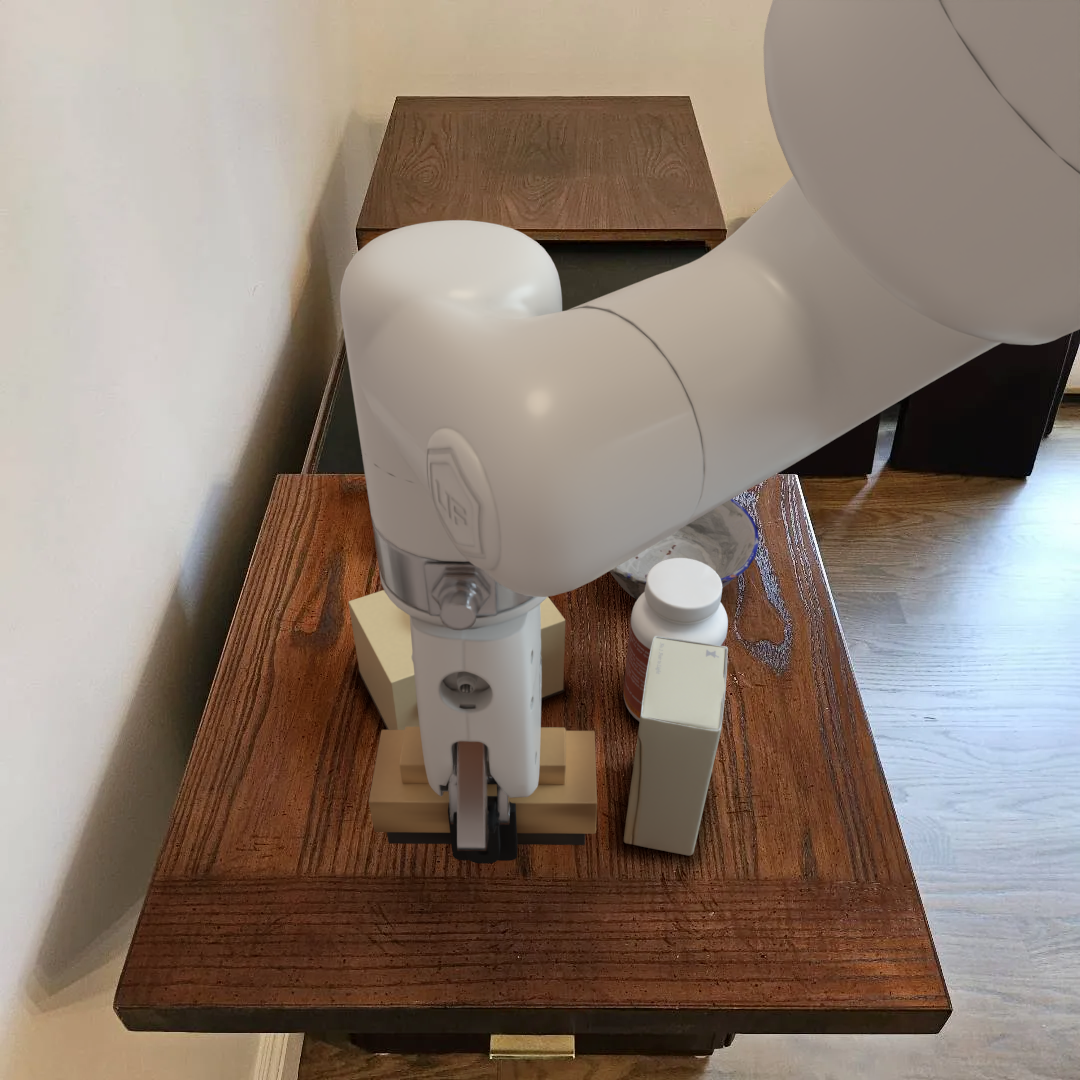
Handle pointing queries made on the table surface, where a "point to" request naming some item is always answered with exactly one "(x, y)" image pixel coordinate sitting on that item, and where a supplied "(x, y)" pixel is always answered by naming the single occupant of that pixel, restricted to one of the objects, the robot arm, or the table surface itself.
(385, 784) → the brush
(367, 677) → the bread box
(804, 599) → the table surface
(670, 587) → the pill bottle
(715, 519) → the bowl
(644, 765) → the cosmetic box
